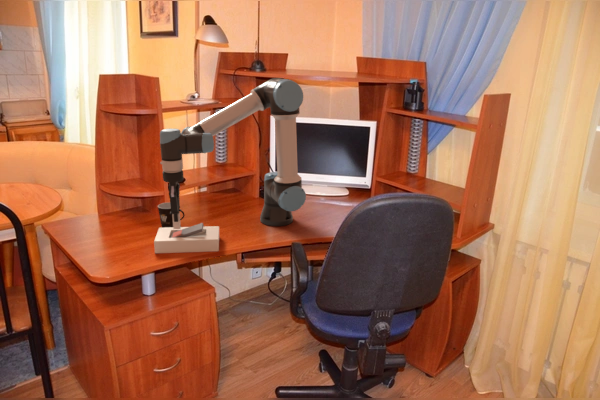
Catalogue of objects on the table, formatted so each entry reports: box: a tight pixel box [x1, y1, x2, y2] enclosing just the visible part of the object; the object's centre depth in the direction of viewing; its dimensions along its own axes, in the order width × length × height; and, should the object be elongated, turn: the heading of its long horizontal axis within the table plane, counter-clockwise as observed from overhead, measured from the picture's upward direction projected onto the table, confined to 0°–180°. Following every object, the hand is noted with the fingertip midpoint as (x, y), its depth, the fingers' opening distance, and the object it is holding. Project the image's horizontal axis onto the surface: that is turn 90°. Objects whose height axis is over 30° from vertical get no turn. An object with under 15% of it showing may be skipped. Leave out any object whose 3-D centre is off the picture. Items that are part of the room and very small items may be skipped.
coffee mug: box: [157, 201, 186, 228], centre depth 192 cm, size 12×9×10 cm
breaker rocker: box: [171, 222, 205, 238], centre depth 175 cm, size 13×7×1 cm, turn 98°
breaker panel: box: [153, 225, 220, 254], centre depth 176 cm, size 24×14×5 cm, turn 99°
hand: (177, 228), depth 174 cm, fingers closed
